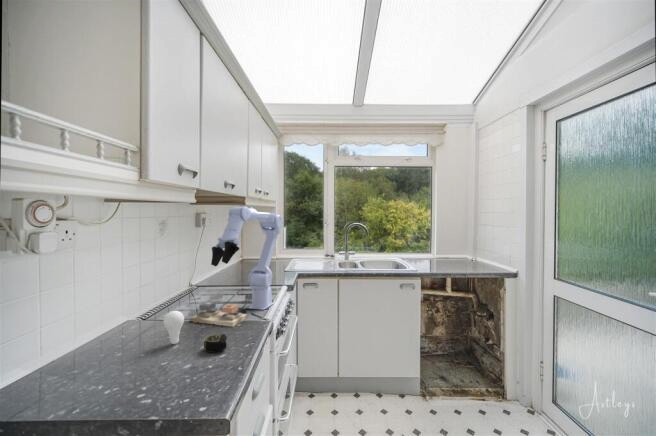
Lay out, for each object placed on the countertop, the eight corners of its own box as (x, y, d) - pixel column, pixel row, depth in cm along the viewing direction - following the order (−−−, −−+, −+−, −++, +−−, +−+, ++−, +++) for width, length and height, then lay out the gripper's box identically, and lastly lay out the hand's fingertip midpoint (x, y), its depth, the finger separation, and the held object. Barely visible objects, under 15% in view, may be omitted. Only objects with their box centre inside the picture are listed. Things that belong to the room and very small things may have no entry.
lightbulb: (179, 348, 97) (178, 314, 97) (160, 348, 97) (159, 314, 97) (188, 339, 103) (187, 308, 103) (170, 340, 103) (169, 308, 103)
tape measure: (226, 352, 94) (226, 340, 94) (203, 356, 92) (202, 344, 92) (227, 343, 100) (226, 332, 100) (204, 346, 98) (204, 335, 98)
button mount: (207, 313, 130) (206, 307, 130) (247, 317, 124) (247, 311, 124) (190, 321, 120) (189, 315, 120) (232, 326, 114) (232, 320, 114)
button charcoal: (206, 306, 126) (206, 301, 126) (215, 307, 125) (215, 302, 125) (199, 309, 122) (199, 304, 122) (208, 310, 121) (208, 305, 121)
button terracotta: (229, 308, 123) (229, 303, 123) (238, 309, 122) (238, 304, 122) (222, 312, 119) (222, 306, 119) (231, 313, 118) (231, 307, 118)
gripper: (213, 231, 121) (200, 262, 114) (233, 223, 112) (220, 256, 105) (228, 239, 125) (216, 269, 118) (248, 232, 116) (236, 264, 109)
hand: (219, 264), depth 112 cm, fingers open, 7 cm apart
